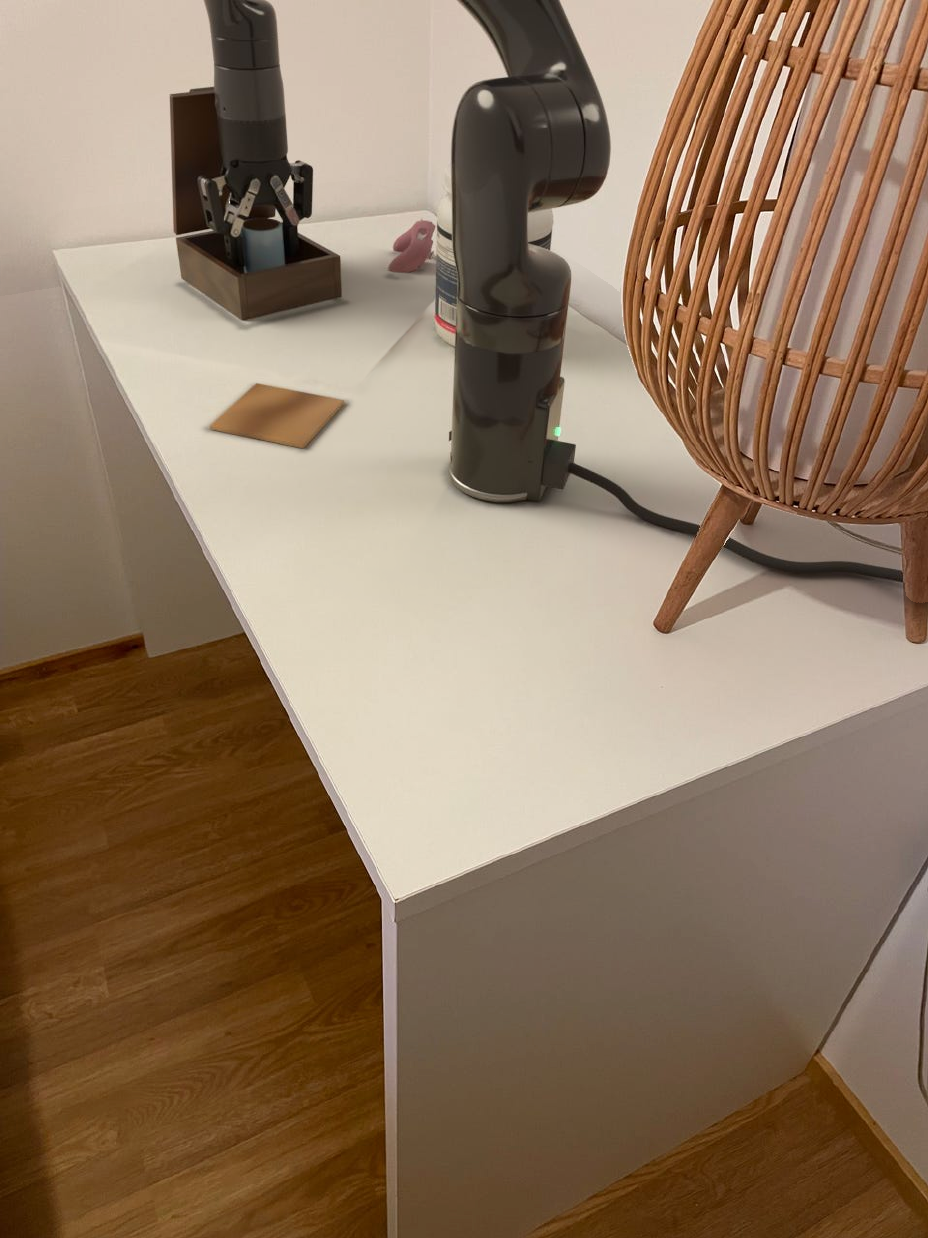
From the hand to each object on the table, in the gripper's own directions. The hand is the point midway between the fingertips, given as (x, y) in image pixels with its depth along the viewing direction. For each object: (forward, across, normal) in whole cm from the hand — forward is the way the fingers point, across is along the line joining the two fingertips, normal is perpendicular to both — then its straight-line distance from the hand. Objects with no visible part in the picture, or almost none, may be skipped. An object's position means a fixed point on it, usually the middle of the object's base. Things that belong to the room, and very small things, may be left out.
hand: (264, 259), depth 118 cm
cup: (+4, 0, 0) cm, 4 cm away
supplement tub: (+5, +16, -24) cm, 29 cm away
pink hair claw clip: (+5, +22, -1) cm, 22 cm away
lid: (-10, 0, +7) cm, 12 cm away
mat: (+5, -14, -27) cm, 31 cm away
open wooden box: (+5, 0, +2) cm, 5 cm away
